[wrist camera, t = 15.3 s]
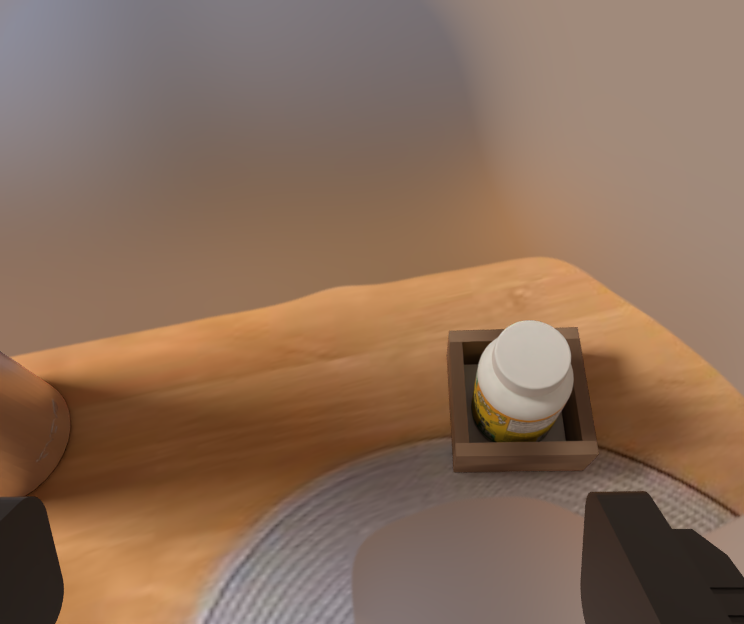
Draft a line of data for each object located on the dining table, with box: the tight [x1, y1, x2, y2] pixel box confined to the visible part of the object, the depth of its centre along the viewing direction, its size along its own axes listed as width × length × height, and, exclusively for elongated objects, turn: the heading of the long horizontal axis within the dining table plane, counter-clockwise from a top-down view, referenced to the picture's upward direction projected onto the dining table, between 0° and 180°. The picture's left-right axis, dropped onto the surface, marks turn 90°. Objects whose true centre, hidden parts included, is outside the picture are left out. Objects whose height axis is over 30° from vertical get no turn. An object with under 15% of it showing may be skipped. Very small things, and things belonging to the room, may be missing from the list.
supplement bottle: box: [471, 320, 574, 442], centre depth 36 cm, size 5×5×10 cm
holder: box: [447, 327, 599, 472], centre depth 39 cm, size 8×8×4 cm
